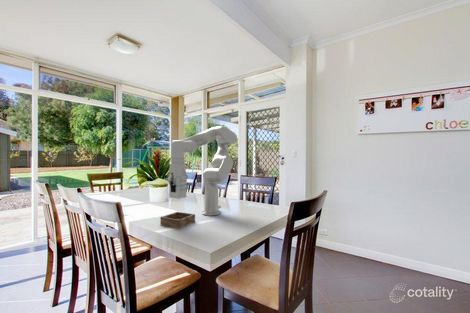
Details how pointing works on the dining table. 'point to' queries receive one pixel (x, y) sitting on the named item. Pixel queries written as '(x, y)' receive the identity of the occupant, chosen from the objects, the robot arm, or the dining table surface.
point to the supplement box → (179, 188)
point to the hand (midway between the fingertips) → (178, 190)
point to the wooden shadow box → (177, 219)
